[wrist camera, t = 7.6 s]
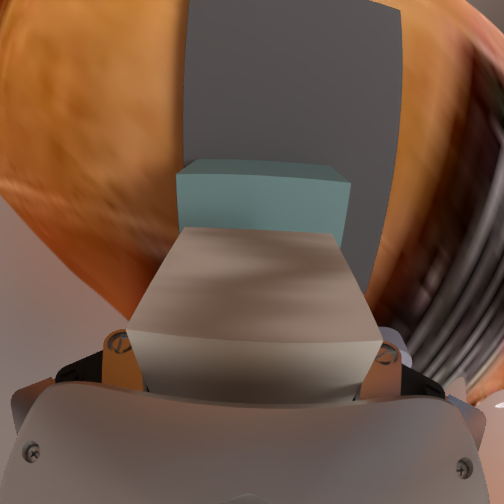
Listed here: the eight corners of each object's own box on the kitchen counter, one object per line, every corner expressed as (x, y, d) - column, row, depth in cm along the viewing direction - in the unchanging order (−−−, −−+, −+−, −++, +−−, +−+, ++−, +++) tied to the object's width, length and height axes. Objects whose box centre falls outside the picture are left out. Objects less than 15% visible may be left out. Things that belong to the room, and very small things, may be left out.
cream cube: (331, 233, 11) (383, 340, 6) (309, 339, 14) (325, 442, 8) (184, 226, 11) (125, 329, 6) (195, 333, 14) (170, 435, 9)
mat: (394, 13, 12) (400, 10, 11) (362, 287, 23) (365, 293, 23) (194, -8, 12) (190, -13, 12) (193, 280, 24) (191, 286, 23)
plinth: (329, 165, 18) (351, 183, 13) (313, 277, 22) (324, 318, 17) (197, 159, 18) (175, 174, 13) (201, 272, 22) (187, 312, 18)
